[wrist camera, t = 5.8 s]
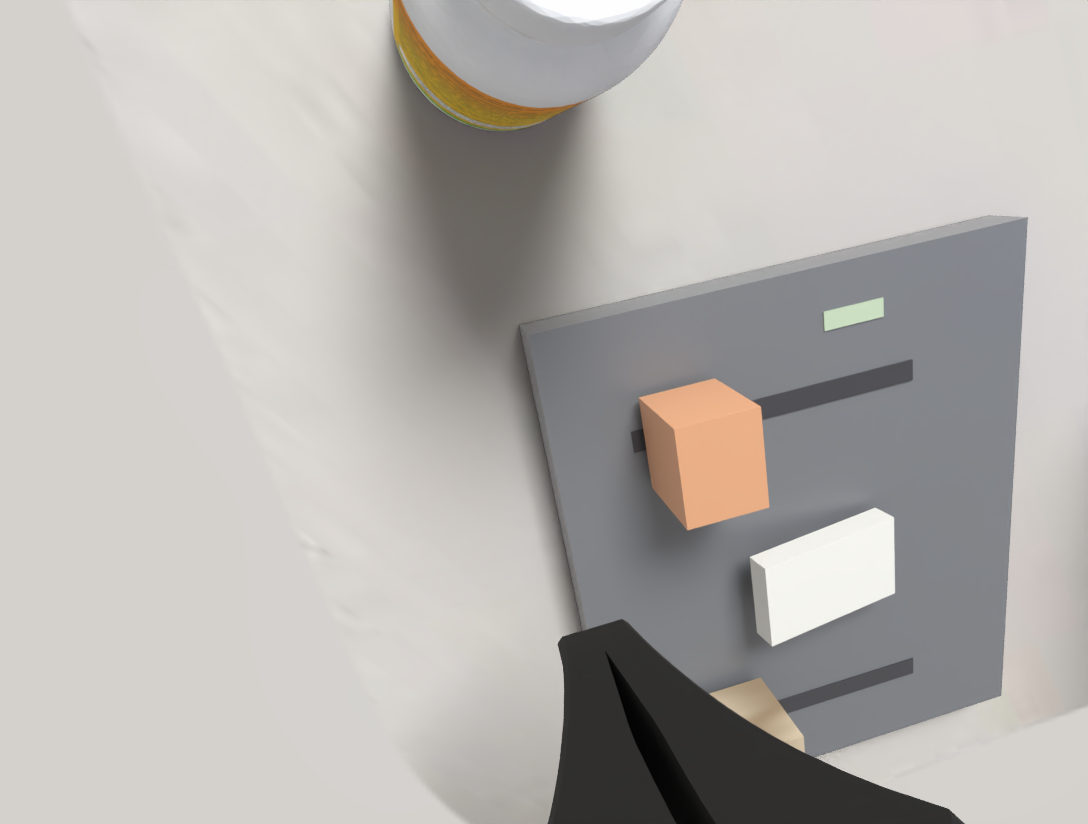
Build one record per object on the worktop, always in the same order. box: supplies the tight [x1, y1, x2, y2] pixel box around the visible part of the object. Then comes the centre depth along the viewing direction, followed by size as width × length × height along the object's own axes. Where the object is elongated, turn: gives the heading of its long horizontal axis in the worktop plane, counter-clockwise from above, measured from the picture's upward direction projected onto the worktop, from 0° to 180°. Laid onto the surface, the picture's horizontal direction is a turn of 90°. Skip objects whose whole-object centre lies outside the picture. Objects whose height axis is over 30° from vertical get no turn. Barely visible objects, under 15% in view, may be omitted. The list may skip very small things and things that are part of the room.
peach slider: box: [639, 378, 769, 530], centre depth 19 cm, size 2×3×3 cm
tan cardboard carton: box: [709, 677, 805, 753], centre depth 24 cm, size 2×4×3 cm, turn 11°
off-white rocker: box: [750, 508, 895, 647], centre depth 23 cm, size 5×3×1 cm, turn 101°
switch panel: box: [519, 216, 1028, 757], centre depth 24 cm, size 16×19×2 cm
